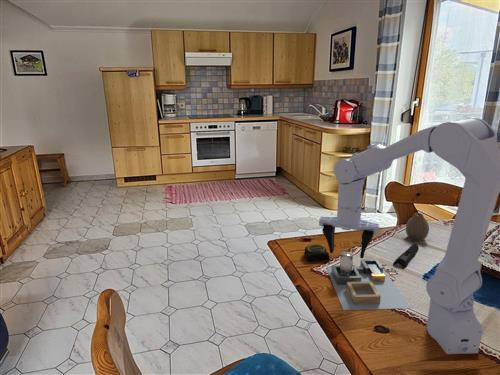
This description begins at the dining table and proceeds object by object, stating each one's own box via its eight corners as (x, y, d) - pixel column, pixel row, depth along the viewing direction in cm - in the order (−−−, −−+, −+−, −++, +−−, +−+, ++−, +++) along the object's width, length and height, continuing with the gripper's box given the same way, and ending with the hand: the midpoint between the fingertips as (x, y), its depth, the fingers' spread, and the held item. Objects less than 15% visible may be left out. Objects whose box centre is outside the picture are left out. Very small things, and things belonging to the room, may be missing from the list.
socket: (388, 283, 85) (389, 276, 84) (336, 285, 85) (337, 278, 84) (376, 265, 93) (377, 259, 93) (329, 266, 94) (329, 260, 93)
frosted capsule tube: (353, 281, 86) (354, 257, 84) (341, 281, 86) (342, 257, 84) (350, 274, 89) (351, 251, 87) (338, 274, 89) (339, 251, 87)
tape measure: (306, 266, 97) (306, 254, 96) (302, 254, 103) (302, 243, 102) (329, 265, 97) (330, 253, 96) (324, 253, 103) (324, 242, 102)
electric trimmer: (421, 253, 102) (422, 244, 101) (404, 273, 91) (405, 263, 90) (408, 250, 104) (409, 241, 103) (390, 269, 93) (391, 259, 93)
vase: (400, 236, 113) (402, 212, 110) (416, 232, 115) (419, 209, 112) (415, 244, 106) (418, 219, 104) (432, 240, 108) (435, 216, 106)
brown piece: (380, 303, 77) (380, 296, 77) (353, 304, 77) (354, 297, 77) (371, 288, 83) (371, 281, 82) (346, 288, 83) (346, 281, 83)
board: (410, 311, 75) (411, 308, 75) (343, 313, 76) (343, 309, 76) (380, 268, 94) (380, 265, 93) (325, 269, 94) (326, 266, 94)
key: (384, 281, 86) (385, 275, 85) (372, 281, 86) (372, 276, 85) (376, 269, 91) (377, 264, 91) (365, 269, 91) (365, 264, 91)
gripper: (316, 207, 81) (315, 256, 85) (379, 214, 75) (374, 266, 79) (323, 198, 87) (321, 244, 91) (381, 204, 81) (377, 253, 85)
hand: (346, 253), depth 86 cm, fingers open, 7 cm apart
